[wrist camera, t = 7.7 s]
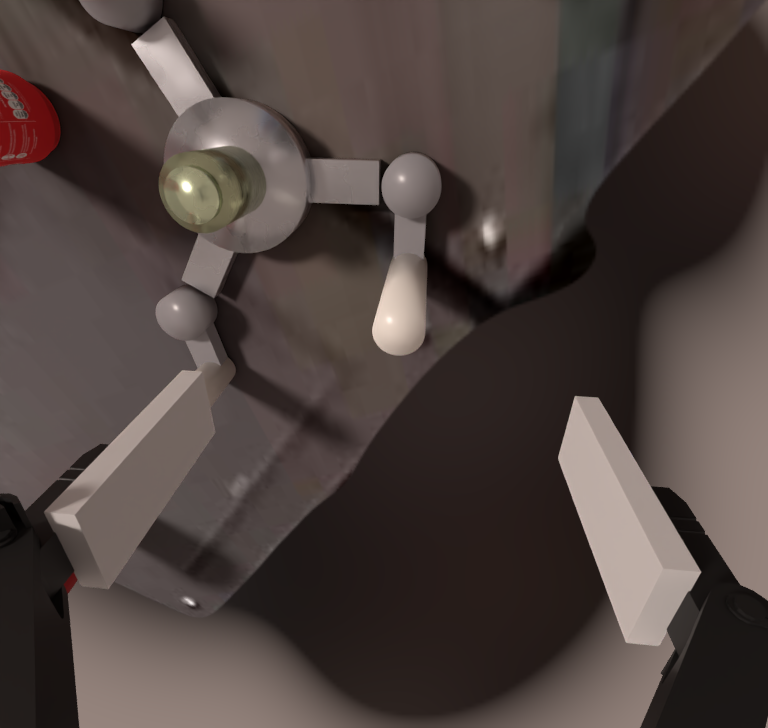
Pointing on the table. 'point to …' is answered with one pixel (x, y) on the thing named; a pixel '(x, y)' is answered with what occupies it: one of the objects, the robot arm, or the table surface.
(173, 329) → the knob
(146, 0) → the white lever handle
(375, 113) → the table surface
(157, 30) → the levelling base
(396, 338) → the knob
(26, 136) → the beverage can
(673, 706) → the robot arm
